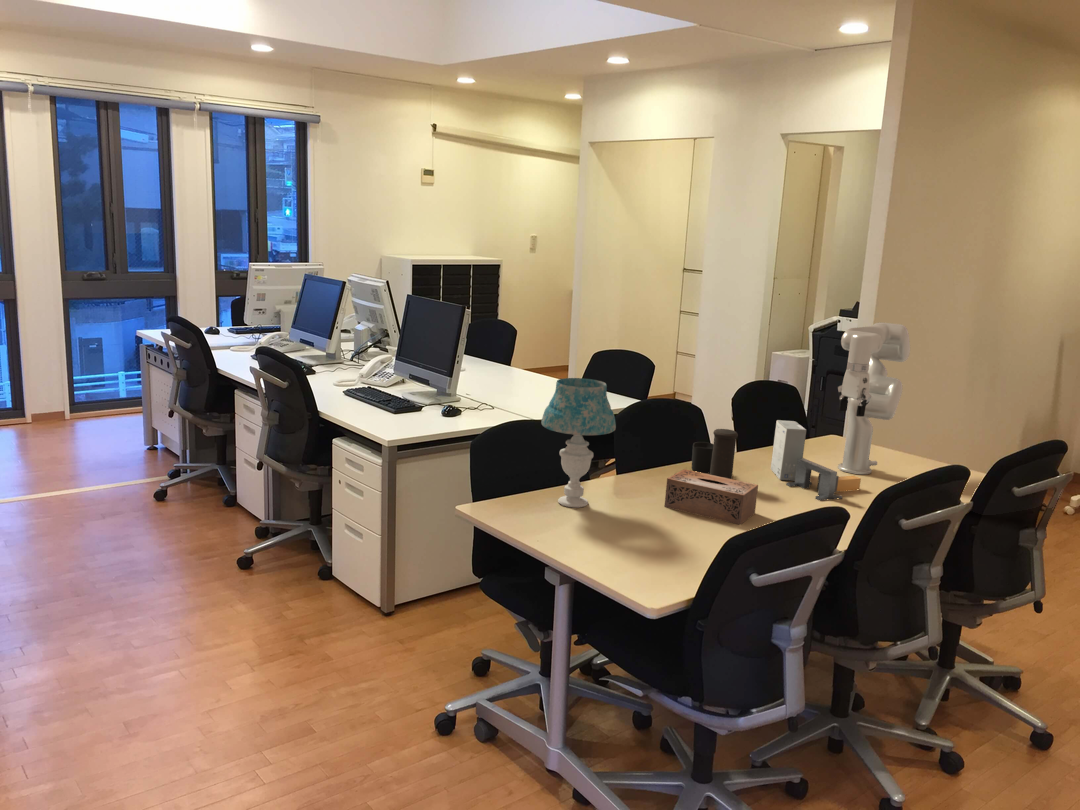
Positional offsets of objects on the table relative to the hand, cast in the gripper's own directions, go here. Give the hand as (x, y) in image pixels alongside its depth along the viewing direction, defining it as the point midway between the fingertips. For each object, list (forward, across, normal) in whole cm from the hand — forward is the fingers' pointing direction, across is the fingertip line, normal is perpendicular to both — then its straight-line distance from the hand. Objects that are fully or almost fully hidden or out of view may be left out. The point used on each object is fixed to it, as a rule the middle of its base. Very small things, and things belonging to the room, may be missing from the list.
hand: (851, 413), depth 316 cm
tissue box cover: (+28, -21, +68) cm, 76 cm away
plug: (+27, -8, +7) cm, 29 cm away
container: (+27, +6, +49) cm, 56 cm away
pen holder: (+27, +22, +47) cm, 58 cm away
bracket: (+27, -8, +19) cm, 34 cm away
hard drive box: (+27, +12, +17) cm, 34 cm away
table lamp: (+28, -8, +111) cm, 115 cm away
